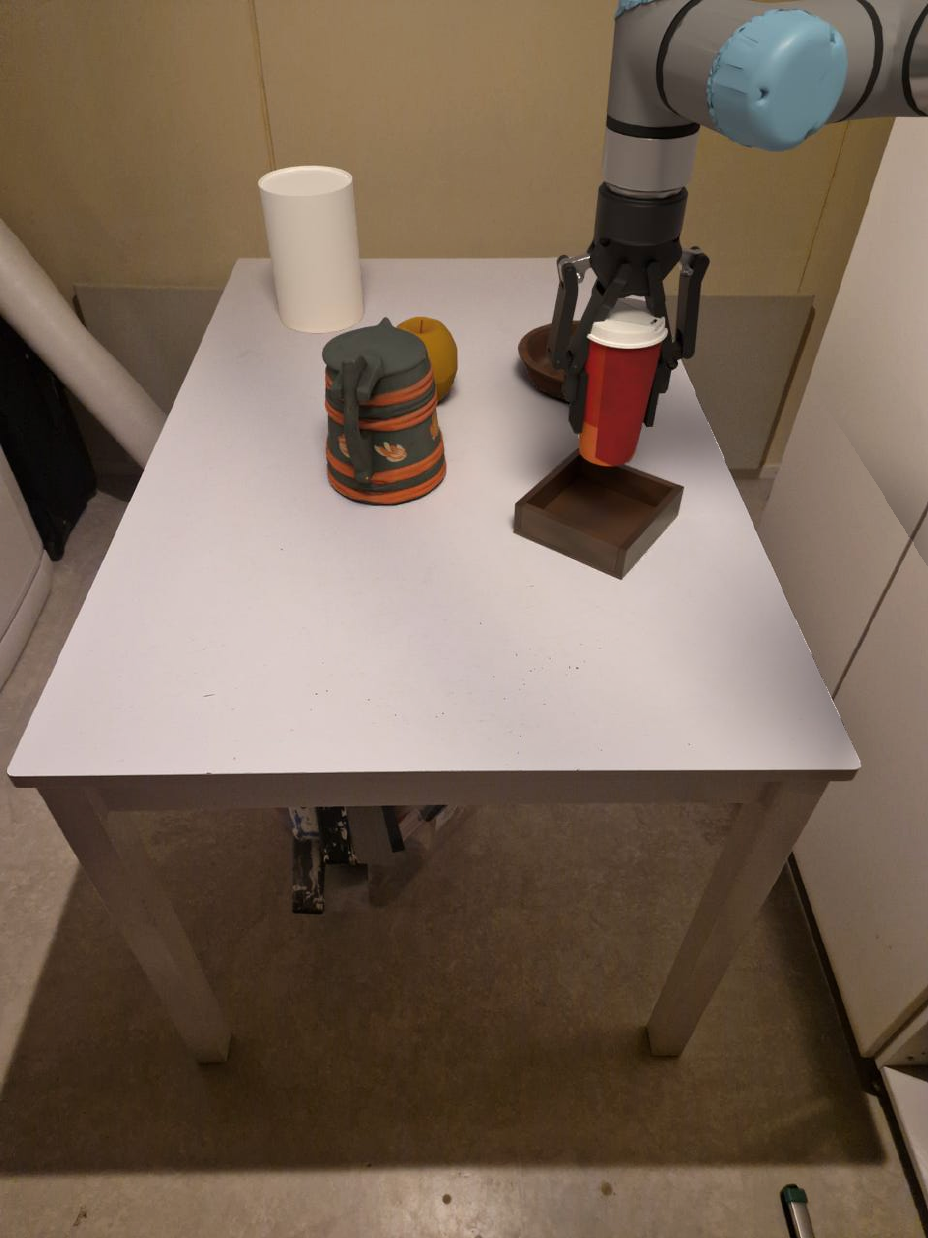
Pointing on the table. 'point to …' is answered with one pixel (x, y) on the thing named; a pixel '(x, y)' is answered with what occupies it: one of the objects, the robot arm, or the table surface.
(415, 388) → the beer stein
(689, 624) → the table surface
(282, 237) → the canister
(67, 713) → the table surface
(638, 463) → the table surface
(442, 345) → the apple
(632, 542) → the square wooden tray
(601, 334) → the coffee cup
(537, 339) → the dish
